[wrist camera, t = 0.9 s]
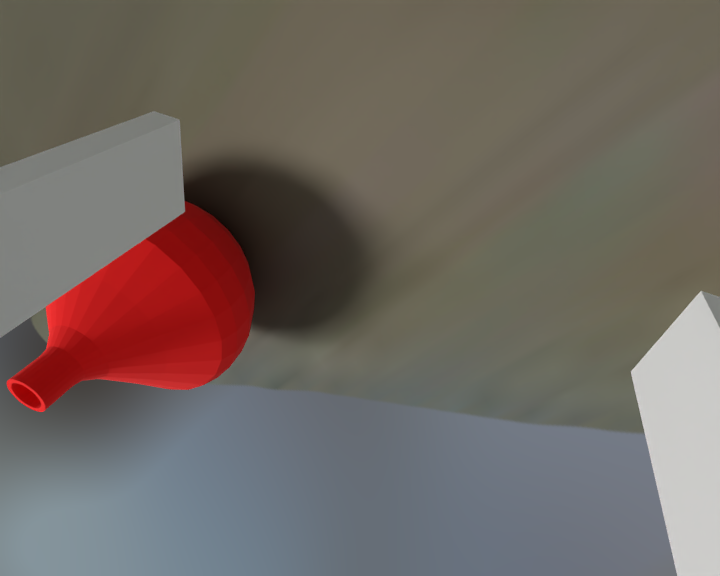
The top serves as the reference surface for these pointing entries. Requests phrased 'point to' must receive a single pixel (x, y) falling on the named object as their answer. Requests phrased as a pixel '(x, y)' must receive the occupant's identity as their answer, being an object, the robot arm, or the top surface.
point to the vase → (149, 315)
